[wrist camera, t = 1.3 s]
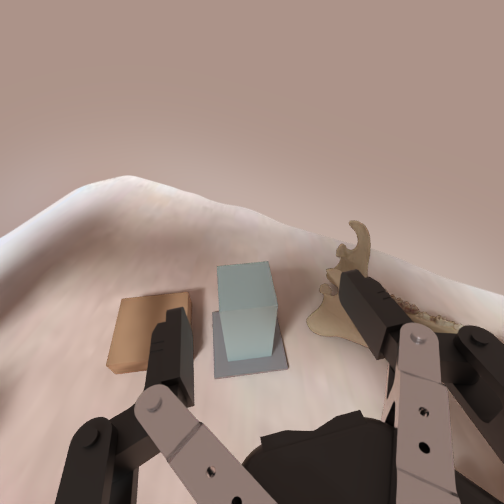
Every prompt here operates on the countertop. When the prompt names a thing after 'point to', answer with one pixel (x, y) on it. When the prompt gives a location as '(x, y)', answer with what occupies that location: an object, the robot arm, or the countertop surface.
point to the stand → (140, 329)
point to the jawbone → (331, 311)
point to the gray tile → (247, 365)
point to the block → (247, 309)
